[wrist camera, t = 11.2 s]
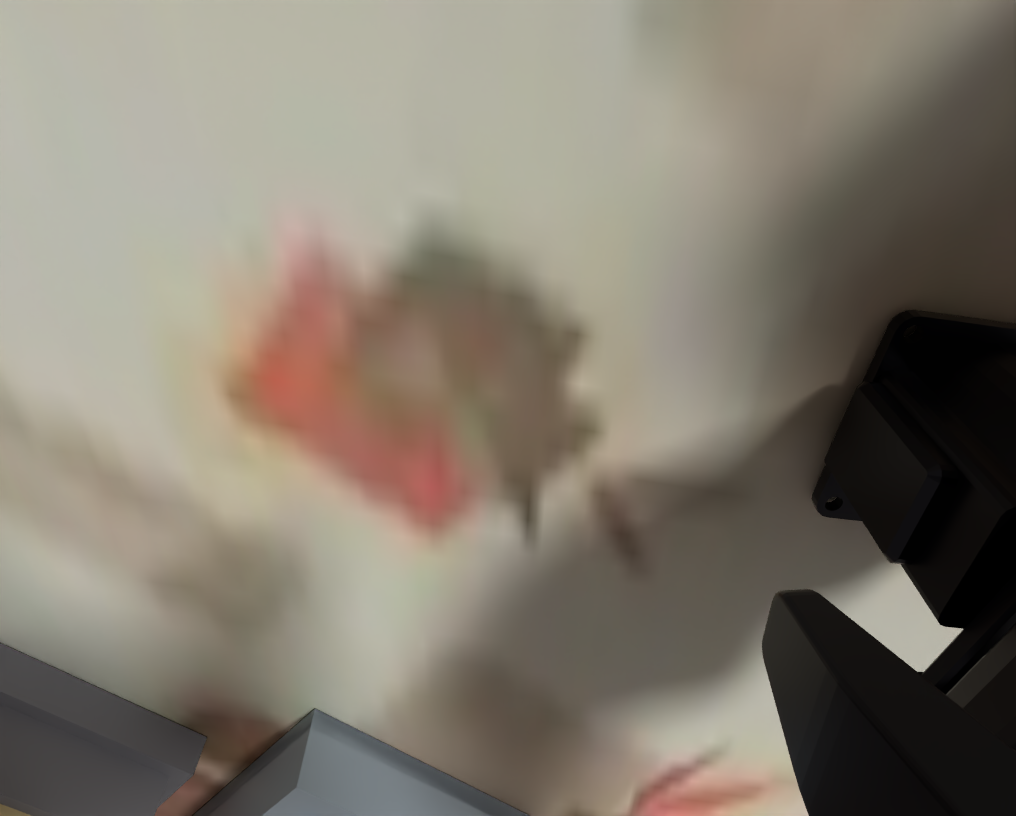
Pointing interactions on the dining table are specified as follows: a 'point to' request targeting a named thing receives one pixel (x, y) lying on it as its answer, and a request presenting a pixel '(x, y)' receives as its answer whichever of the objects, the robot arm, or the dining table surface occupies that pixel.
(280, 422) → the dining table surface
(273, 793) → the tray
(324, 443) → the dining table surface
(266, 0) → the dining table surface
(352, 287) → the dining table surface
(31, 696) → the socket block
